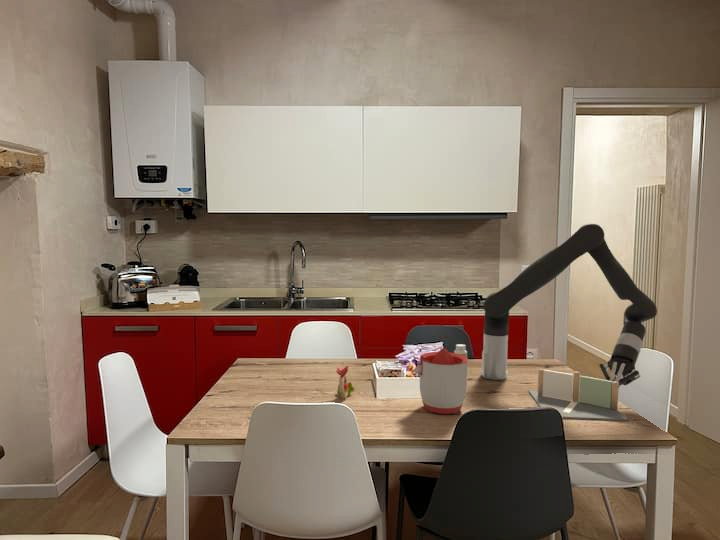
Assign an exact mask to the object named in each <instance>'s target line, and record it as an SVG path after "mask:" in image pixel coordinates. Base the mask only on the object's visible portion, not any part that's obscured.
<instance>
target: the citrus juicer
mask: <svg viewBox="0 0 720 540" xmlns="http://www.w3.org/2000/svg"><path fill="white" fill-rule="evenodd" d="M419 356H420V357H419V365H416V366H415V367H414V370H413V374H414V375H416V374H419V390H420V391H419V392H420V397H421V400H422V401H421V402H422V404H423V407H424V409H425V410H427V411H428V412H430V413H432V412H434V413H433V414H440V415H442V414H443V415H450V414H451V413H452V414H456V413H455V412H457V413H458V412H460V411H461V409H462V407H463V405H464V402H465V399H466V398H465V397H466V393H467V386H468V382H467V381H468V362H469V358H468V356H467V357H466V356H464V355H461V354H456V353H454V352H449V351H448V350H447V349H446V348H444V347H443V348H441V349H440V350H439V351H431V352H430V351H429V352H424V353H422V354H421V355H419Z"/></svg>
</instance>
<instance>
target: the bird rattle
mask: <svg viewBox="0 0 720 540" xmlns="http://www.w3.org/2000/svg"><path fill="white" fill-rule="evenodd" d="M348 368H349V366H347V365H346V366H345V367H343V368H342V369H340V368H337V369H336V373H337V374H338V376H339V381H338V385H337V391H336V394H337V396H339V397H341V399H342V400H344V401H346V399H347V397H348V396H351V393H352V392H354V391H355V387H354V386H353V383H352V382H351V381H349V382H348V380H347V376H346V375H347V373H348V372H349V369H348Z"/></svg>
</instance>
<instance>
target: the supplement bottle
mask: <svg viewBox="0 0 720 540" xmlns="http://www.w3.org/2000/svg"><path fill="white" fill-rule="evenodd" d="M453 353H456V354H461V355H464V356H466V357H467V358H468V351H467V350H466V344H462V343H461V344H460V343H459V344H458V343H457V344H455V349H454V350H453Z"/></svg>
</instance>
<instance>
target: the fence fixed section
mask: <svg viewBox="0 0 720 540" xmlns="http://www.w3.org/2000/svg"><path fill="white" fill-rule="evenodd" d="M537 375H538V377H537V378H538V379H537V391H538V395H543V396H548V397H553V398H559V399H564V400H569V401H571V400H572V401H573V402H579V390H580V376H581V372H580V371H577V370H576V371H573V373H569V372H561V371H556V370H555V371H554V370H549V369H544V368H538V374H537ZM572 392H573V396H572Z"/></svg>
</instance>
